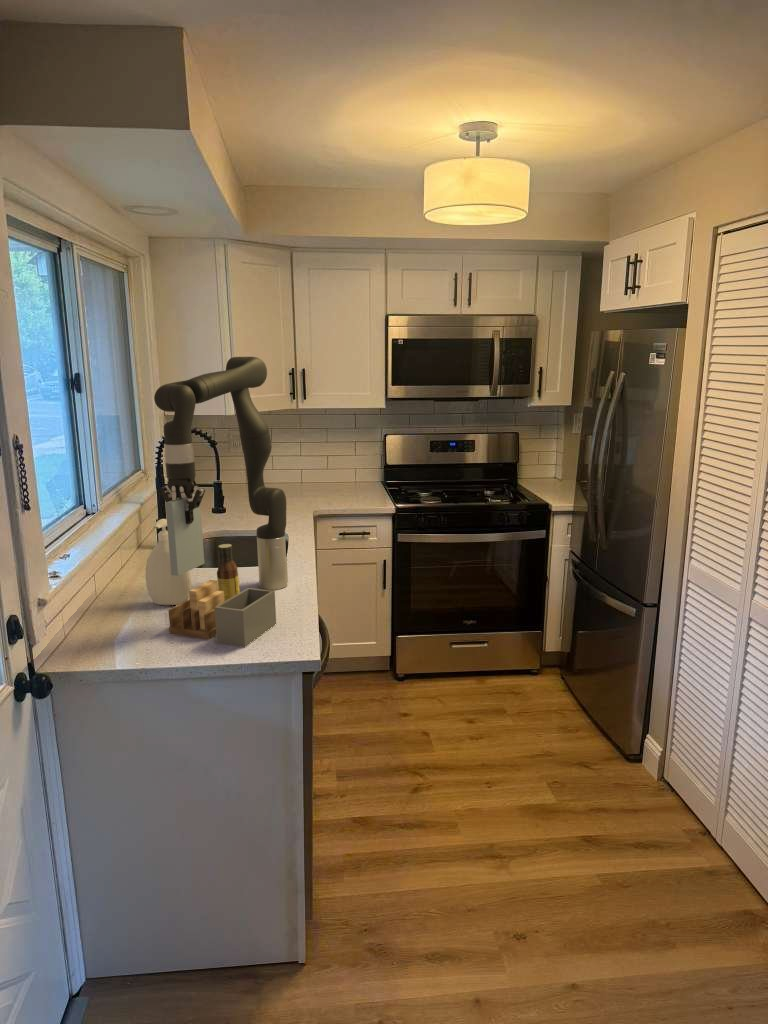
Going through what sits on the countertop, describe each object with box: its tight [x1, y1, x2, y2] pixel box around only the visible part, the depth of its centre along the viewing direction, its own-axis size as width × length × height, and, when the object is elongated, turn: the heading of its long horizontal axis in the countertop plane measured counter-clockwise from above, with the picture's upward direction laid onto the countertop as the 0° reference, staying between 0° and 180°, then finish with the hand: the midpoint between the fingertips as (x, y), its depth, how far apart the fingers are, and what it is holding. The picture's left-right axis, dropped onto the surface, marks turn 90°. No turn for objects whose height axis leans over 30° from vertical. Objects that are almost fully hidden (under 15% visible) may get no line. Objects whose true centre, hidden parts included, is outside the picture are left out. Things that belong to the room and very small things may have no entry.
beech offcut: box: [198, 591, 225, 630], centre depth 183 cm, size 9×2×8 cm, turn 160°
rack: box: [167, 598, 216, 640], centre depth 185 cm, size 14×13×7 cm
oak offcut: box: [189, 579, 218, 625], centre depth 186 cm, size 10×2×10 cm, turn 160°
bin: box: [214, 587, 277, 648], centre depth 180 cm, size 17×9×10 cm, turn 160°
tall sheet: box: [164, 493, 206, 576], centre depth 182 cm, size 12×2×20 cm, turn 160°
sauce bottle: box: [216, 543, 241, 601], centre depth 199 cm, size 6×6×20 cm
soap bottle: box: [145, 518, 192, 607], centre depth 202 cm, size 14×8×27 cm, turn 81°
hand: (184, 523), depth 181 cm, fingers closed on tall sheet, 2 cm apart
